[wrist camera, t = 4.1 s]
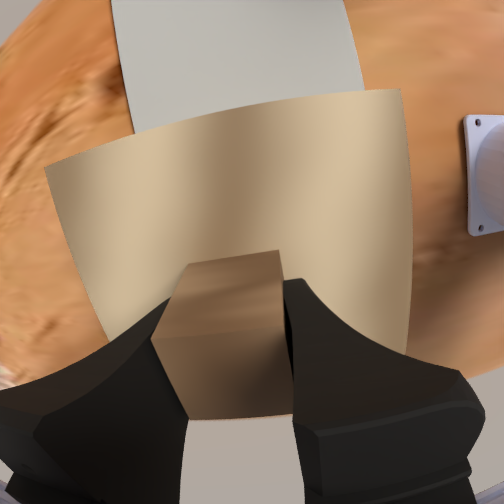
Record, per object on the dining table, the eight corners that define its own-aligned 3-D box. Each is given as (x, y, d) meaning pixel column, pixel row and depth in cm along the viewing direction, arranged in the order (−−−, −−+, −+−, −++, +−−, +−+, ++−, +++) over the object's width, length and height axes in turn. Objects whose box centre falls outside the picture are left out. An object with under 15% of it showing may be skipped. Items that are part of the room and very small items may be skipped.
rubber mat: (316, -67, 12) (317, -71, 11) (367, 119, 16) (370, 119, 16) (111, -20, 13) (108, -22, 13) (145, 162, 18) (142, 163, 17)
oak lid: (389, 90, 9) (474, 79, 4) (395, 371, 13) (425, 455, 9) (59, 162, 10) (-37, 198, 6) (154, 397, 15) (126, 476, 10)
